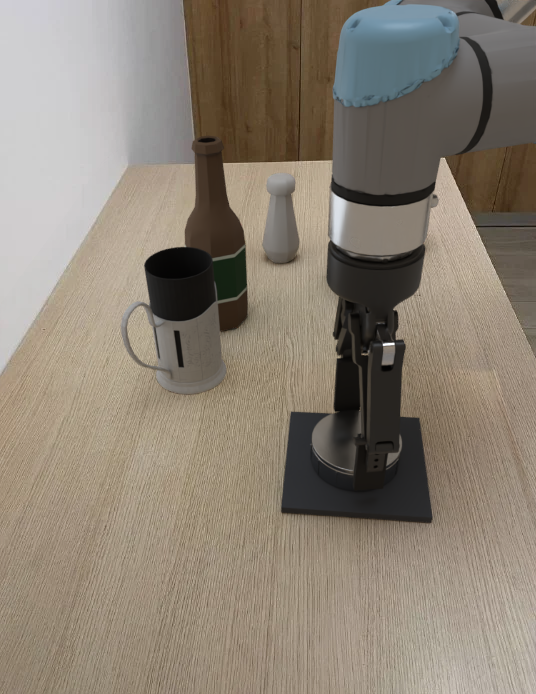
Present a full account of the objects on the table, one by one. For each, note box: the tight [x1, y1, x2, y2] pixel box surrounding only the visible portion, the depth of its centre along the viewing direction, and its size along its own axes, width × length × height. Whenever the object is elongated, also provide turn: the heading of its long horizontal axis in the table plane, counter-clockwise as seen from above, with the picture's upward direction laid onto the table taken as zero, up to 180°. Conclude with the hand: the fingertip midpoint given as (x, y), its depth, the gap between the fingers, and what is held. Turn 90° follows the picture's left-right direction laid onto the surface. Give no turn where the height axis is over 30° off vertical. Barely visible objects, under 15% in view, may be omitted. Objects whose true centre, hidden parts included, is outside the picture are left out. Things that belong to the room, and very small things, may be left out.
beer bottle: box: [184, 135, 249, 332], centre depth 81 cm, size 8×8×24 cm
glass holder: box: [120, 246, 228, 395], centre depth 73 cm, size 9×14×15 cm, turn 146°
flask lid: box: [310, 410, 402, 492], centre depth 64 cm, size 9×9×3 cm
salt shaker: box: [261, 172, 300, 264], centre depth 97 cm, size 6×6×13 cm
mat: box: [280, 411, 433, 524], centre depth 65 cm, size 14×14×1 cm
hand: (356, 445), depth 64 cm, fingers open, 10 cm apart
